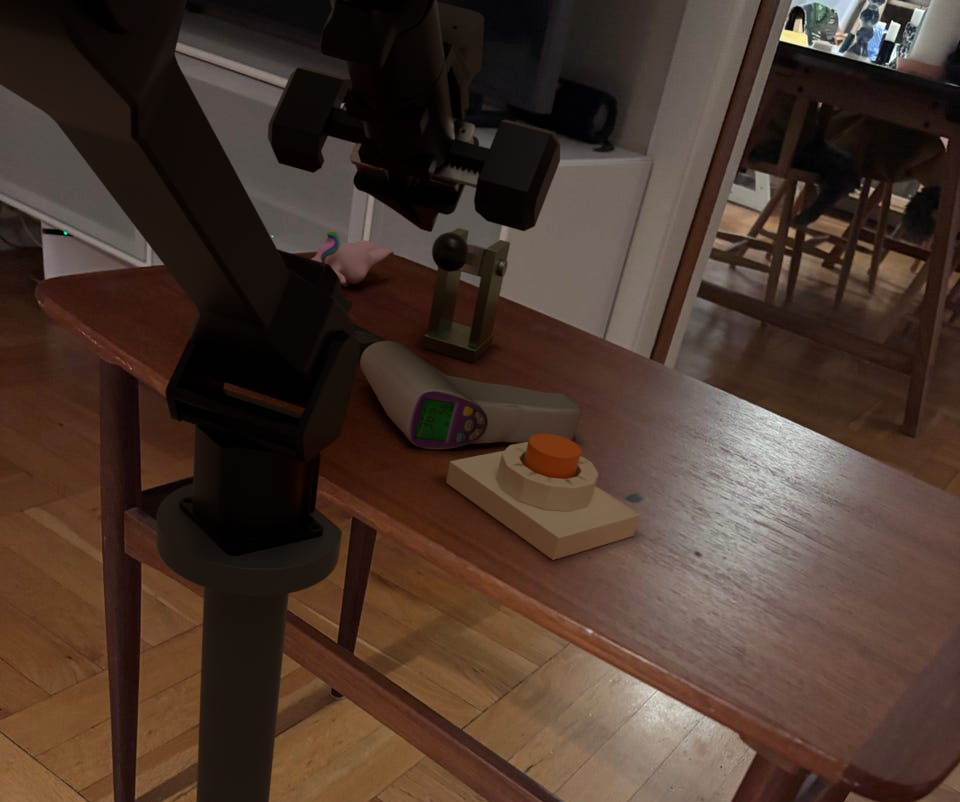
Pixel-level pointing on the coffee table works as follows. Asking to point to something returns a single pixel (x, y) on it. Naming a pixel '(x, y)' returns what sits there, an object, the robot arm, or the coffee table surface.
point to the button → (552, 456)
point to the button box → (543, 502)
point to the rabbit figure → (350, 258)
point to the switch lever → (458, 254)
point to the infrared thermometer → (459, 403)
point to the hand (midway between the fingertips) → (428, 225)
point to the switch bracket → (479, 337)
